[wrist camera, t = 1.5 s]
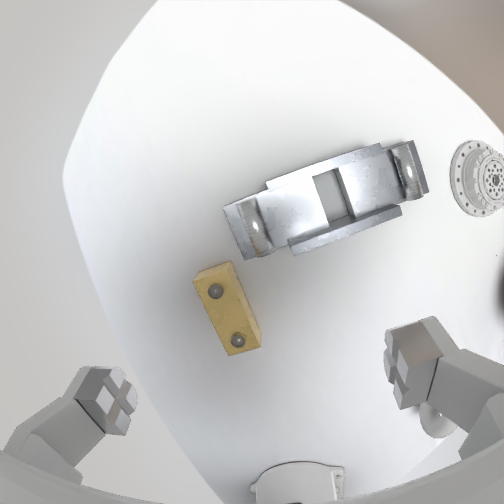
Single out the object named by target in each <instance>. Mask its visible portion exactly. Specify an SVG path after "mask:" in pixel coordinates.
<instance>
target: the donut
mask: <svg viewBox="0 0 504 504" xmlns="http://www.w3.org/2000/svg"><path fill="white" fill-rule="evenodd" d="M419 415H420V422H421V425H422V427H423V429H424V431H425V432H426V433H427V435H429V436H431V437H433V438H444V437H446V436H448V435H450V434H451V433H453V432H454V430H455V429H456V428H457V427H458V425H456V424H455V423H453V422H452V421H451V420H449V419H448V418H446V417H445V416H444V415H442V417H441V416H440V414H439V412H438V411H437V410H435V409H434V408H433V407H431V406H430V405H428V404H427V402H425V403H422V404H420V414H419Z"/></svg>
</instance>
